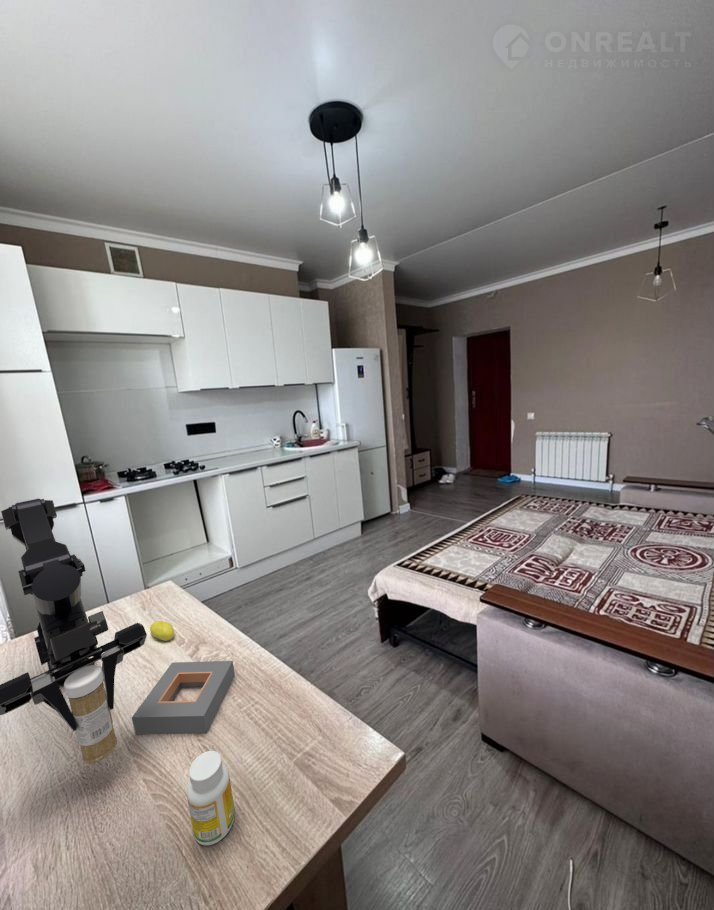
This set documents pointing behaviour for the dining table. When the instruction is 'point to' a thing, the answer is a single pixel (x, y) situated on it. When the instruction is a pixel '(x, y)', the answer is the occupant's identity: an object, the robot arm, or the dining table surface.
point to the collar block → (184, 715)
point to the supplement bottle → (210, 798)
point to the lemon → (162, 630)
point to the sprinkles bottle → (91, 713)
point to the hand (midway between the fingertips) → (94, 719)
